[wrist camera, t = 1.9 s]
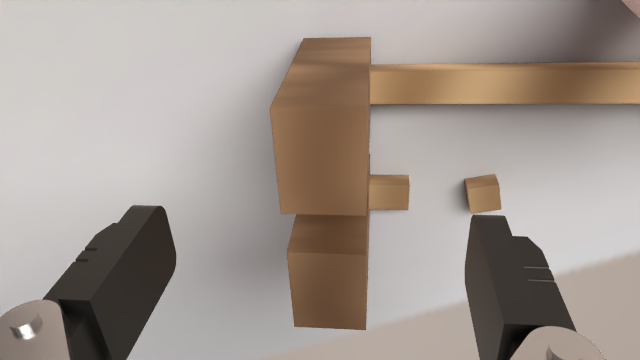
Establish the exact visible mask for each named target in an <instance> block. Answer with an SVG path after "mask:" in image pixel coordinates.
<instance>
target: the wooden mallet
mask: <svg viewBox="0 0 640 360" xmlns="http://www.w3.org/2000/svg"><path fill="white" fill-rule="evenodd" d="M628 103H640V62H579V63H489V64H399V65H371V37H356V38H304V39H303V41H302V43H301V45H300V47H299V49H298V51H297V53H296V55H295V58H294V60H293V62H292V64H291V66H290V68H289V70H288V72H287V74H286V76H285V78H284V80H283V82H282V84H281V86H280V88H279V91H278V93H277V95H276V97H275V99H274V101H273V103H272V105H271V107H270V115H271V124H272V134H273V143H274V153H275V162H276V172H277V181H278V191H279V200H280V210H281V214H312V215H355V216H366V209H367V185H368V161H369V137H370V104H628Z"/></svg>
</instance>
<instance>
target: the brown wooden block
mask: <svg viewBox="0 0 640 360" xmlns="http://www.w3.org/2000/svg"><path fill="white" fill-rule="evenodd" d="M465 185H466V193H467V200H468V205H469V209H470V213H471V214H473V213H480V212H487V211H494V210H500V209H501V200H500V189H499V183H498V181H497V178H496V175H495V174H493V175H487V176H481V177H475V178H468V179H465ZM409 186H410V185H409V175H370V154H369V161H368V185H367V209H366V216H355V215H312V214H296V218H295V222H294V226H293V230H292V234H291V238H290V242H289V246H288V250H287V259H288V269H289V279H290V288H291V298H292V308H293V318H294V327H314V328H334V329H354V330H366V312H367V280H368V249H369V216H370V209H378V210H408V203H409Z"/></svg>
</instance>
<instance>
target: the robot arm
mask: <svg viewBox="0 0 640 360" xmlns="http://www.w3.org/2000/svg"><path fill="white" fill-rule="evenodd" d="M175 266H176V250H175V246H174V242H173V238H172V234H171V230H170V226H169V222H168V218H167V214H166V211H165V209H164V208H163V207H162V206H143V205H134V206H132V207H130V208H129V210H128V211H127V212H126V213H125V215H124V216H123V217H122V218H121V220H120V221H119V222H118V223H113V224H111V225H110V226H108V227H107V228H105V229H104V230H102V231H101V232H99V233H98V234H96V235H95V237H94V238H93V239H92V240H91V241H90V243H89V244H88V245H87V246H86V247H85V251H82V252H81V253H80V255H79V256H78V257H77V258H76V262H73V263H72V264H71V265H70V267H69V268H68V269H67V270H66V271H65V273H64V274H63V275H62V276H61V277H60V279H59V280H58V281H57V282H56V284H55V285H54V286H53V287H52V288H51V290H50V291H49V292H48V293H47V294H46V296H45V297H44V298H43V299H42V300H35V301H30V302H27V303H24V304H21V305H19V306H17V307H15V308H13V309H11V310H10V311H8V312H6V313H5V314H4V315H3V316H1V317H0V360H126V359H127V357H128V356H129V354H130V352H131V350H132V348H133V346H134V345H135V343H136V341H137V339H138V337H139V335H140V334H141V332H142V330H143V328H144V326H145V324H146V323H147V321H148V319H149V317H150V315H151V314H152V312H153V310H154V308H155V306H156V304H157V303H158V301H159V299H160V297H161V295H162V293H163V292H164V290H165V288H166V286H167V284H168V282H169V281H170V279H171V277H172V275H173V273H174V270H175ZM465 286H466V291H467V297H468V302H469V307H470V312H471V317H472V321H473V327H474V332H475V337H476V342H477V347H478V352H479V357H480V360H605V359H604V357H603V355H602V353H601V352H600V350H599V349H598V348H597V347H596V345H594V344H593V343H592V342H591V341H590V340H589V339H587V338H586V337H584V336H582V335H581V334H579V333H577V331H576V329H575V327H574V324H573V322H572V320H571V317H570V315H569V313H568V310H567V308H566V306H565V303H564V301H563V299H562V296H561V294H560V292H559V289H558V287H557V284H556V283H554V277H553V275H552V273H551V270H549V266H548V263H547V261H546V259H545V256H544V254H543V252H542V250H541V249H540V248H539V247H538V246H537V245H535V244H534V243H533V242H532V241H531V240H530V239H529V238H528V237H520V236H512V234H511V231H510V228H509V225H508V223H507V220H506V217H505V216H498V215H473V216H472V218H471V223H470V231H469V238H468V246H467V253H466V261H465Z"/></svg>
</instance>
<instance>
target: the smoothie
mask: <svg viewBox="0 0 640 360" xmlns="http://www.w3.org/2000/svg"><path fill="white" fill-rule="evenodd" d="M621 1H622V2H623V3H624V4H625V5H626V6H627V7H628V8H629V9H631V10H632V11H633V12H634V13H635V14H636V15H637V16H638V17H639V18H640V0H621Z"/></svg>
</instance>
